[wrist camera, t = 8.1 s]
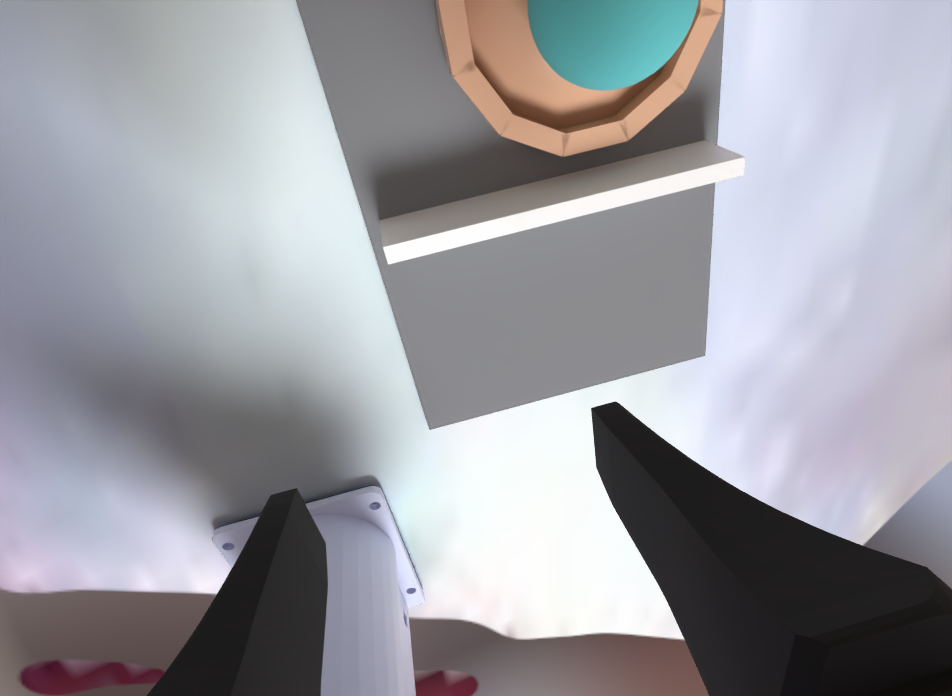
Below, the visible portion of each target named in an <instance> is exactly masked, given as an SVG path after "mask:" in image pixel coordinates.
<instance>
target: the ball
mask: <svg viewBox="0 0 952 696" xmlns="http://www.w3.org/2000/svg"><path fill="white" fill-rule="evenodd" d="M698 1H699V0H528V4H527V6H528V19H529V24H530V29H531V33H532V36H533V39H534V42H535V44H536V46H537V48H538V50H539V52H540V54H541V55H542V57H543V59H544V60H545V61H546V62H547V64H548V65H549V66H550V67H551V68H552V69H553V70H554V71H555V72H556V73H557V74H558V75H559V76H561V77H562V78H564V79H565V80H566V81H568V82H570V83H573V84H575V85H577V86H579V87H582V88H586V89H591V90H600V91H605V90H615V89H621V88H625V87H628V86H631V85H634V84H636V83H638V82H640V81H642V80H644V79H645V78H647V77H648V76H650V75H652V74H653V73H655V72H656V71H657V70H658V69H660V68H661V67H662V66H663V65H664V64H665V63H666V62H667V61H668V60H669V59H670V58H671V57H672V55H673V54H674V53H675V51H676V50H677V49H678V48H679V46H680V45H681V43H682V42H683V40H684V38H685V37H686V35H687V33H688V31H689V29H690V27H691V24H692V22H693V19H694V16H695V13H696V9H697V6H698Z"/></svg>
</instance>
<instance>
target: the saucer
mask: <svg viewBox="0 0 952 696" xmlns="http://www.w3.org/2000/svg"><path fill="white" fill-rule="evenodd" d="M435 2H436V13H437V20H438V28H439V33H440V37H441V41H442V45H443V49H444V52H445V55H446V60H447V65H448V70H449V73H450V75H451V77H452V78H453V79H454V80H455V82H456V83H457V84H458V85H459V87H460V88H461V89H462V90H463V92H464V93H465V94H466V96H467V97H468V98H469V100H470V101H471V102H472V103H473V104H474V106H475V107H476V108H477V109H478V110H479V111H480V113H481V114H482V115H483V116H484V118H485V119H486V120H487V121H488V123H489V124H490V125H491V126H492V128H493V129H494V130H495V131H496V132H497V133H498V134H499V135H500V136H503V137H506V138H509V139H511V140H514V141H517V142H520V143H523V144H526V145H529V146H532V147H535V148H538V149H541V150H544V151H547V152H550V153H553V154H556V155H559V156H561V157H562V156H563V157H565V156H569V155H573V154H577V153H581V152H585V151H589V150H594V149H598V148H602V147H606V146H610V145H614V144H618V143H622V142H626V141H628V140H630V139H631V138H632V137H633V136H635V135H636V134H637V133H638V132H639V131H640V130H641V129H643V128H644V127H645V126H646V125H647V124H648V123H649V122H651V121H652V120H653V119H654V118H655V117H656V116H657V115H658V114H660V113H661V112H662V111H663V110H664V109H665V108H666V107H668V106H669V105H670V104H671V103H672V102H673V101H674V100H676V99H677V98H678V97H679V96H680V95H681V94H682V93H684V92H685V91H684V90H686V88H687V86H688V84H689V82H690V80H691V78H692V76H693V74H694V72H695V69H696V67H697V65H698V63H699V61H700V59H701V57H702V55H703V53H704V51H705V48H706V46H707V44H708V42H709V40H710V38H711V36H712V34H713V32H714V30H715V28H716V25H717V23H718V21H719V19H720V17H721V15H722V14H720V13H722V7H723V0H699V1H698V6H697V9H696V13H695V16H694V19H693V22H692V24H691V27H690V29H689V31H688V33H687V35H686V37H685V38H684V40H683V42H682V43H681V45H680V46H679V48H678V49H677V50H676V51H675V53H674V54H673V55H672V57H671V58H670V59H669V60H668V61H667V62H666V63H665V64H664V65H663V66H662V67H661V68H660V69H658V70H657V71H656V72H655V73H653V74H652V75H650V76H648V77H647V78H645V79H644V80H642V81H640V82H638V83H636V84H634V85H631V86H628V87H625V88H621V89H615V90H605V91H600V90H591V89H586V88H582V87H579V86H577V85H575V84H573V83H570V82H568V81H566V80H565V79H564V78H562V77H561V76H559V75H558V74H557V73H556V72H555V71H554V70H553V69H552V68H551V67H550V66H549V65H548V64H547V62H546V61H545V60H544V59H543V57H542V55H541V54H540V52H539V50H538V48H537V46H536V44H535V42H534V39H533V36H532V33H531V29H530V24H529V19H528V6H527V4H528V0H435Z"/></svg>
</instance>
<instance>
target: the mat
mask: <svg viewBox="0 0 952 696" xmlns="http://www.w3.org/2000/svg"><path fill="white" fill-rule="evenodd" d="M296 1H297V5H298V8H299V11H300V14H301V17H302V21H303V24H304V27H305V30H306V34H307V37H308V40H309V43H310V46H311V50H312V53H313V56H314V59H315V63H316V66H317V69H318V72H319V75H320V79H321V82H322V85H323V88H324V92H325V95H326V98H327V101H328V104H329V108H330V111H331V114H332V117H333V121H334V124H335V127H336V130H337V133H338V137H339V140H340V143H341V146H342V150H343V153H344V156H345V159H346V162H347V166H348V169H349V172H350V175H351V179H352V182H353V185H354V188H355V191H356V195H357V198H358V201H359V204H360V208H361V211H362V214H363V217H364V220H365V224H366V227H367V230H368V233H369V237H370V240H371V243H372V246H373V249H374V253H375V256H376V259H377V262H378V266H379V269H380V272H381V275H382V278H383V282H384V285H385V288H386V291H387V295H388V298H389V301H390V304H391V307H392V311H393V314H394V317H395V320H396V324H397V327H398V330H399V333H400V336H401V340H402V343H403V346H404V349H405V353H406V356H407V359H408V362H409V365H410V369H411V372H412V375H413V378H414V382H415V385H416V388H417V391H418V394H419V398H420V401H421V404H422V407H423V411H424V414H425V417H426V420H427V423H428V427H429V430H431V429H435V428H439V427H442V426H446V425H450V424H453V423H457V422H461V421H465V420H468V419H472V418H476V417H479V416H483V415H487V414H490V413H494V412H498V411H502V410H505V409H509V408H513V407H516V406H520V405H524V404H528V403H531V402H535V401H539V400H542V399H546V398H550V397H554V396H557V395H561V394H565V393H568V392H572V391H576V390H580V389H583V388H587V387H591V386H594V385H598V384H602V383H606V382H609V381H613V380H617V379H620V378H624V377H628V376H631V375H635V374H639V373H643V372H646V371H650V370H654V369H657V368H661V367H665V366H669V365H672V364H676V363H680V362H683V361H687V360H691V359H695V358H698V357H702V356H705V350H706V333H707V315H708V298H709V280H710V262H711V245H712V227H713V209H714V192H715V183H711V184H707V185H703V186H699V187H695V188H691V189H687V190H683V191H679V192H675V193H671V194H667V195H663V196H659V197H655V198H651V199H647V200H643V201H639V202H635V203H631V204H627V205H623V206H619V207H615V208H611V209H607V210H603V211H599V212H595V213H591V214H587V215H583V216H579V217H575V218H571V219H567V220H563V221H559V222H555V223H551V224H547V225H544V226H540V227H536V228H532V229H528V230H524V231H520V232H516V233H512V234H508V235H504V236H500V237H496V238H492V239H488V240H484V241H480V242H476V243H472V244H468V245H464V246H460V247H456V248H452V249H448V250H444V251H440V252H436V253H432V254H428V255H424V256H420V257H416V258H412V259H408V260H404V261H400V262H396V263H392V264H388V262H387V259H386V256H385V252H384V249H383V243H382V235H381V228H380V220H383V219H387V218H391V217H395V216H399V215H403V214H407V213H411V212H415V211H419V210H423V209H427V208H431V207H436V206H440V205H444V204H448V203H452V202H456V201H460V200H464V199H468V198H472V197H476V196H480V195H484V194H488V193H492V192H496V191H500V190H504V189H509V188H513V187H517V186H521V185H525V184H529V183H533V182H537V181H541V180H545V179H549V178H553V177H557V176H561V175H565V174H569V173H573V172H577V171H581V170H586V169H590V168H594V167H598V166H602V165H606V164H610V163H614V162H618V161H622V160H626V159H630V158H634V157H638V156H642V155H646V154H650V153H654V152H659V151H663V150H667V149H671V148H675V147H679V146H683V145H687V144H691V143H695V142H699V141H703V140H705V141H708V142H710V143H713V144H715V145H717V139H718V121H719V104H720V86H721V69H722V51H723V33H724V16H725V0H723V7H722V13H720V14H722V15H721V17H720V19H719V21H718V23H717V25H716V28H715V30H714V32H713V34H712V36H711V38H710V40H709V42H708V44H707V46H706V48H705V51H704V53H703V55H702V57H701V59H700V61H699V63H698V65H697V67H696V69H695V72H694V74H693V76H692V78H691V80H690V82H689V84H688V86H687V88H686V90H684V91H685V92H684V93H682V94H681V95H680V96H679V97H678V98H677V99H676V100H674V101H673V102H672V103H671V104H670V105H669V106H668V107H666V108H665V109H664V110H663V111H662V112H661V113H660V114H658V115H657V116H656V117H655V118H654V119H653V120H652V121H651V122H649V123H648V124H647V125H646V126H645V127H644V128H643V129H641V130H640V131H639V132H638V133H637V134H636V135H635V136H633V137H632V138H631V139H630V140H628V141H626V142H622V143H618V144H614V145H610V146H606V147H602V148H598V149H594V150H589V151H585V152H581V153H577V154H573V155H569V156H565V157H563V156H562V157H561V156H559V155H556V154H553V153H550V152H547V151H544V150H541V149H538V148H535V147H532V146H529V145H526V144H523V143H520V142H517V141H514V140H511V139H509V138H506V137H503V136H500V135H499V134H498V133H497V132H496V131H495V130H494V129H493V128H492V126H491V125H490V124H489V123H488V121H487V120H486V119H485V118H484V116H483V115H482V114H481V113H480V111H479V110H478V109H477V108H476V107H475V106H474V104H473V103H472V102H471V101H470V100H469V98H468V97H467V96H466V94H465V93H464V92H463V90H462V89H461V88H460V87H459V85H458V84H457V83H456V82H455V80H454V79H453V78H452V77H451V75H450V73H449V70H448V65H447V60H446V55H445V52H444V49H443V45H442V41H441V37H440V33H439V28H438V20H437V13H436V2H435V0H296Z"/></svg>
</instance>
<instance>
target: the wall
mask: <svg viewBox="0 0 952 696" xmlns="http://www.w3.org/2000/svg"><path fill="white" fill-rule="evenodd" d="M744 165H745V157H744V156H742V155H739V154H737V153H734V152H732V151H730V150H727V149H725V148H722V147H720V146H717V145H715V144H713V143H710V142H708V141H705V140H703V141H699V142H695V143H691V144H687V145H683V146H679V147H675V148H671V149H667V150H663V151H659V152H654V153H650V154H646V155H642V156H638V157H634V158H630V159H626V160H622V161H618V162H614V163H610V164H606V165H602V166H598V167H594V168H590V169H586V170H581V171H577V172H573V173H569V174H565V175H561V176H557V177H553V178H549V179H545V180H541V181H537V182H533V183H529V184H525V185H521V186H517V187H513V188H509V189H504V190H500V191H496V192H492V193H488V194H484V195H480V196H476V197H472V198H468V199H464V200H460V201H456V202H452V203H448V204H444V205H440V206H436V207H431V208H427V209H423V210H419V211H415V212H411V213H407V214H403V215H399V216H395V217H391V218H387V219H383V220H380V228H381V235H382V243H383V249H384V252H385V256H386V259H387V262H388V264H392V263H396V262H400V261H404V260H408V259H412V258H416V257H420V256H424V255H428V254H432V253H436V252H440V251H444V250H448V249H452V248H456V247H460V246H464V245H468V244H472V243H476V242H480V241H484V240H488V239H492V238H496V237H500V236H504V235H508V234H512V233H516V232H520V231H524V230H528V229H532V228H536V227H540V226H544V225H547V224H551V223H555V222H559V221H563V220H567V219H571V218H575V217H579V216H583V215H587V214H591V213H595V212H599V211H603V210H607V209H611V208H615V207H619V206H623V205H627V204H631V203H635V202H639V201H643V200H647V199H651V198H655V197H659V196H663V195H667V194H671V193H675V192H679V191H683V190H687V189H691V188H695V187H699V186H703V185H707V184H711V183H715V182H719V181H722V180H726V179H730V178H734V177H738V176H742V175H744Z"/></svg>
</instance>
